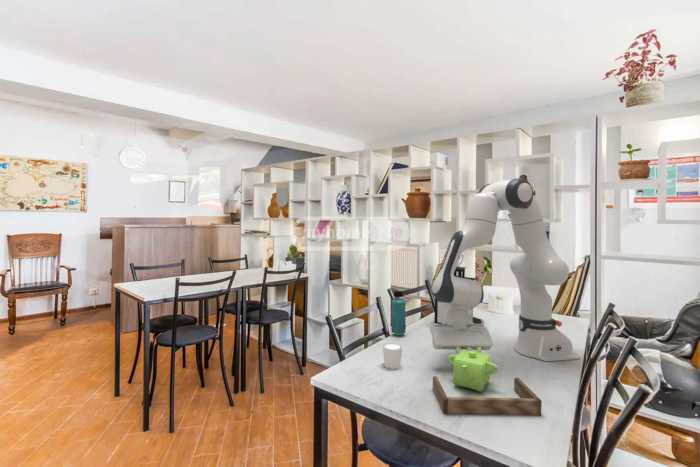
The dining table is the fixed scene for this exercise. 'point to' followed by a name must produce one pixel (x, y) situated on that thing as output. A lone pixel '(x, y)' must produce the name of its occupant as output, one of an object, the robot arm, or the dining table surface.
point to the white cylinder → (392, 355)
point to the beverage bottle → (398, 314)
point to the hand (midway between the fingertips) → (465, 361)
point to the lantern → (438, 305)
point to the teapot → (472, 369)
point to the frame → (490, 402)
